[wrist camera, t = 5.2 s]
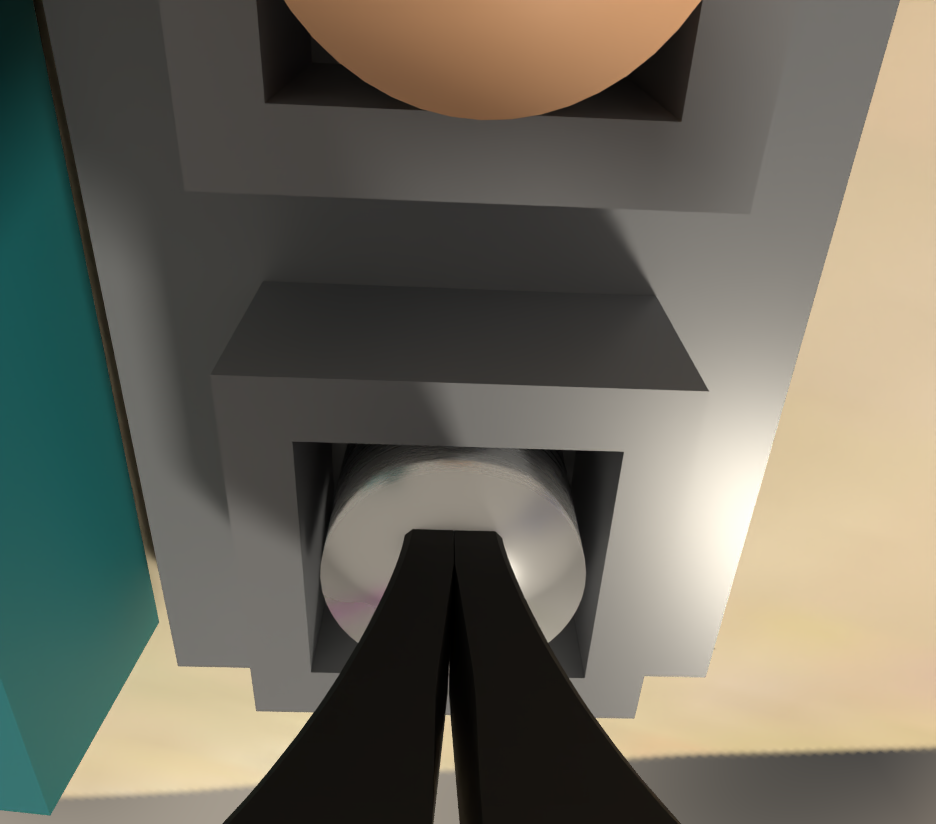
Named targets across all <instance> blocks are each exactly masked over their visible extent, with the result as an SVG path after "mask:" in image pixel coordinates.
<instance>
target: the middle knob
mask: <svg viewBox="0 0 936 824" xmlns="http://www.w3.org/2000/svg"><path fill="white" fill-rule="evenodd" d="M284 1H285V2H286V4H287V6H288V7H289V9H290V10H291V11H292V13H293V14H294V15H295V16H296V18H297V19H298V20H299V21H300V22H301V24H302V25H303V26H304V27H305V28H306V30H307V31H308V32H309V33H310V35H311V36H312V37H313V38H314V39H315V40H316V41H317V42H318V43H319V44H320V45H321V46H322V47H323V48H324V49H325V50H326V51H327V52H328V53H329V54H330V55H332V56H333V57H334V58H335V59H336V60H337V61H338V62H339V63H340V64H342V65H343V66H344V67H346V68H347V69H348V70H350V71H351V72H352V73H354V74H355V75H356V76H358V77H359V78H360V79H362V80H363V81H364V82H366V83H368V84H370V85H371V86H373V87H375V88H377V89H378V90H380V91H382V92H384V93H386V94H387V95H389V96H391V97H393V98H395V99H398V100H400V101H403V102H405V103H407V104H410V105H412V106H415V107H417V108H420V109H423V110H427V111H431V112H435V113H439V114H442V115H446V116H450V117H458V118H467V119H476V120H506V119H517V118H523V117H529V116H535V115H541V114H545V113H548V112H551V111H554V110H558V109H561V108H564V107H568V106H571V105H573V104H575V103H578V102H580V101H582V100H584V99H586V98H589V97H591V96H593V95H595V94H597V93H600V92H601V91H603V90H605V89H606V88H608V87H609V86H611V85H613V84H614V83H616V82H617V81H619V80H621V79H622V78H624V77H626V76H627V75H629V74H630V73H631V72H632V71H634V70H635V69H636V68H637V67H639V66H640V65H641V64H642V63H644V62H645V61H646V60H647V59H649V58H650V57H651V56H652V55H654V54H655V53H656V52H657V51H658V50H659V49H660V48H661V47H662V46H663V45H664V43H665V42H666V41H667V40H668V39H669V38H670V37H671V36H672V35H673V34H674V33H675V32H676V31H677V30H678V29H679V28H680V27H681V26H682V24H683V23H684V22H685V20H686V19H687V18H688V17H689V15H690V14H691V13H692V12H693V10H694V9H695V8H696V6H697V5H698V4H699V3H700V1H701V0H284Z"/></svg>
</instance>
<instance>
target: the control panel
mask: <svg viewBox="0 0 936 824" xmlns="http://www.w3.org/2000/svg"><path fill="white" fill-rule="evenodd" d="M899 1H900V0H701V1H700V3H699V4H698V5H697V6H696V8H695V9H694V10H693V12H692V13H691V14H690V15H689V17H688V18H687V19H686V20H685V22H684V23H683V24H682V26H681V27H680V28H679V29H678V30H677V31H676V32H675V33H674V34H673V35H672V36H671V37H670V38H669V39H668V40H667V41H666V42H665V43H664V45H663V46H662V47H661V48H660V49H659V50H658V51H657V52H656V53H655V54H654V55H652V56H651V57H650V58H649V59H647V60H646V61H645V62H644V63H642V64H641V65H640V66H639V67H637V68H636V69H635V70H634V71H632V72H631V73H630V74H629V75H627V76H626V77H624V78H622V79H621V80H619V81H617V82H616V83H614V84H613V85H611V86H609V87H608V88H606V89H605V90H603V91H601V92H600V93H597V94H595V95H593V96H591V97H589V98H586V99H584V100H582V101H580V102H578V103H575V104H573V105H571V106H568V107H564V108H561V109H558V110H554V111H551V112H548V113H545V114H541V115H535V116H529V117H523V118H517V119H506V120H476V119H467V118H458V117H450V116H446V115H442V114H439V113H435V112H431V111H427V110H423V109H420V108H417V107H415V106H412V105H410V104H407V103H405V102H403V101H400V100H398V99H395V98H393V97H391V96H389V95H387V94H386V93H384V92H382V91H380V90H378V89H377V88H375V87H373V86H371V85H370V84H368V83H366V82H364V81H363V80H362V79H360V78H359V77H358V76H356V75H355V74H354V73H352V72H351V71H350V70H348V69H347V68H346V67H344V66H343V65H342V64H340V63H339V62H338V61H337V60H336V59H335V58H334V57H333V56H332V55H330V54H329V53H328V52H327V51H326V50H325V49H324V48H323V47H322V46H321V45H320V44H319V43H318V42H317V41H316V40H315V39H314V38H313V37H312V36H311V35H310V33H309V32H308V31H307V30H306V28H305V27H304V26H303V25H302V24H301V22H300V21H299V20H298V19H297V18H296V16H295V15H294V14H293V13H292V11H291V10H290V9H289V7H288V6H287V4H286V2H285V1H284V0H42V2H43V7H44V12H45V17H46V22H47V27H48V32H49V37H50V41H51V46H52V51H53V56H54V61H55V66H56V71H57V76H58V81H59V86H60V90H61V95H62V100H63V105H64V110H65V115H66V120H67V125H68V130H69V134H70V139H71V144H72V149H73V154H74V159H75V164H76V169H77V174H78V179H79V183H80V188H81V193H82V198H83V203H84V208H85V213H86V218H87V223H88V228H89V232H90V237H91V242H92V247H93V252H94V257H95V262H96V267H97V272H98V276H99V281H100V286H101V291H102V296H103V301H104V306H105V311H106V316H107V321H108V325H109V330H110V335H111V340H112V345H113V350H114V355H115V360H116V365H117V370H118V374H119V379H120V384H121V389H122V394H123V399H124V404H125V409H126V414H127V419H128V423H129V428H130V433H131V438H132V443H133V448H134V453H135V458H136V463H137V467H138V472H139V477H140V482H141V487H142V492H143V497H144V502H145V507H146V512H147V516H148V521H149V526H150V531H151V536H152V541H153V546H154V551H155V556H156V561H157V565H158V570H159V575H160V580H161V585H162V590H163V595H164V600H165V605H166V609H167V614H168V619H169V624H170V629H171V634H172V639H173V644H174V649H175V654H176V658H177V663H178V666H192V667H239V668H250V669H251V677H252V684H253V691H254V698H255V706H256V711H273V712H315V710H316V709H317V707H318V706H319V704H320V703H321V701H322V700H323V699H324V697H325V696H326V694H327V693H328V691H329V690H330V688H331V686H332V685H333V683H334V682H335V680H336V679H337V677H338V676H339V674H340V672H341V671H342V669H343V667H344V666H345V664H346V662H347V661H348V659H349V657H350V656H351V654H352V652H353V650H354V649H355V647H356V645H357V644H358V643H357V642H356V641H355V640H354V639H352V638H351V637H350V636H349V635H348V634H347V633H346V632H345V631H344V630H343V629H342V628H341V627H340V625H339V624H338V622H337V621H336V620H335V618H334V617H333V615H332V614H331V612H330V610H329V608H328V606H327V604H326V601H325V598H324V595H323V592H322V586H321V580H320V569H321V561H322V556H323V551H324V546H325V541H326V537H327V532H328V528H329V523H330V518H331V514H332V509H333V505H334V500H335V495H336V491H337V486H338V482H339V477H340V472H341V468H342V463H343V459H344V454H345V449H346V445H347V443H358V444H391V445H424V446H456V447H489V448H521V449H554V450H562V451H563V456H564V461H565V465H566V470H567V475H568V480H569V485H570V490H571V495H572V499H573V504H574V509H575V514H576V519H577V524H578V529H579V533H580V538H581V543H582V548H583V553H584V558H585V566H586V580H585V588H584V592H583V596H582V599H581V601H580V603H579V606H578V608H577V610H576V612H575V613H574V615H573V617H572V618H571V620H570V621H569V623H568V624H567V625H566V626H565V627H564V629H563V630H562V631H561V632H560V633H559V634H558V635H557V636H556V637H555V638H553V639H552V640H551V641H550V642H549V643H548V644H549V645H550V647H551V649H552V651H553V652H554V654H555V656H556V658H557V659H558V661H559V663H560V664H561V666H562V668H563V669H564V671H565V672H566V674H567V676H568V677H569V679H570V681H571V682H572V684H573V685H574V687H575V689H576V690H577V692H578V693H579V695H580V696H581V698H582V699H583V701H584V702H585V704H586V705H587V707H588V708H589V710H590V711H591V713H592V714H593V716H594V717H595V718H635V714H636V709H637V705H638V701H639V696H640V692H641V688H642V683H643V679H644V676H663V677H706V674H707V671H708V667H709V664H710V660H711V657H712V653H713V650H714V646H715V643H716V639H717V636H718V632H719V629H720V625H721V622H722V618H723V615H724V611H725V608H726V604H727V601H728V597H729V594H730V590H731V587H732V583H733V580H734V577H735V573H736V570H737V566H738V563H739V559H740V556H741V552H742V549H743V545H744V542H745V538H746V535H747V531H748V528H749V524H750V521H751V517H752V514H753V510H754V507H755V503H756V500H757V496H758V493H759V489H760V486H761V482H762V479H763V475H764V472H765V468H766V465H767V461H768V458H769V455H770V451H771V448H772V444H773V441H774V437H775V434H776V430H777V427H778V423H779V420H780V416H781V413H782V409H783V406H784V402H785V399H786V395H787V392H788V388H789V385H790V381H791V378H792V374H793V371H794V367H795V364H796V360H797V357H798V353H799V350H800V346H801V343H802V340H803V336H804V333H805V329H806V326H807V322H808V319H809V315H810V312H811V308H812V305H813V301H814V298H815V294H816V291H817V287H818V284H819V280H820V277H821V273H822V270H823V266H824V263H825V259H826V256H827V252H828V249H829V245H830V242H831V238H832V235H833V231H834V228H835V225H836V221H837V218H838V214H839V211H840V207H841V204H842V200H843V197H844V193H845V190H846V186H847V183H848V179H849V176H850V172H851V169H852V165H853V162H854V158H855V155H856V151H857V148H858V144H859V141H860V137H861V134H862V130H863V127H864V123H865V120H866V116H867V113H868V110H869V106H870V103H871V99H872V96H873V92H874V89H875V85H876V82H877V78H878V75H879V71H880V68H881V64H882V61H883V57H884V54H885V50H886V47H887V43H888V40H889V36H890V33H891V29H892V26H893V22H894V19H895V15H896V12H897V8H898V5H899ZM445 715H451V714H450V702H449V678H448V696H447V705H446V714H445Z"/></svg>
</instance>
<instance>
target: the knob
mask: <svg viewBox="0 0 936 824" xmlns="http://www.w3.org/2000/svg"><path fill="white" fill-rule="evenodd" d="M412 529H430V530H453V540H454V530H467V531H496V532H497V533H498V534H499V535H500V536H501V537H502V539H503V543H504V547H505V550H506V553H507V556H508V559H509V562H510V564H511V567H512V569H513V572H514V574H515V577H516V579H517V581H518V584H519V586H520V588H521V590H522V593H523V595H524V597H525V599H526V601H527V603H528V605H529V607H530V609H531V611H532V613H533V615H534V617H535V619H536V621H537V623H538V625H539V627H540V628H541V630H542V632H543V634H544V636H545V638H546V640H547V642H548V643H549V642H550V641H551V640H552V639H553V638H555V637H556V636H557V635H558V634H559V633H560V632H561V631H562V630H563V629H564V627H565V626H566V625H567V624H568V623H569V621H570V620H571V618H572V617H573V615H574V613H575V612H576V610H577V608H578V606H579V603H580V601H581V599H582V596H583V592H584V588H585V580H586V566H585V558H584V553H583V548H582V543H581V538H580V533H579V529H578V524H577V519H576V514H575V509H574V504H573V499H572V495H571V490H570V485H569V480H568V475H567V470H566V465H565V461H564V456H563V451H562V450H554V449H521V448H489V447H456V446H424V445H391V444H358V443H347V445H346V449H345V454H344V459H343V463H342V468H341V472H340V477H339V482H338V486H337V491H336V495H335V500H334V505H333V509H332V514H331V518H330V523H329V528H328V532H327V537H326V541H325V546H324V551H323V556H322V561H321V569H320V580H321V586H322V592H323V595H324V598H325V601H326V604H327V606H328V608H329V610H330V612H331V614H332V615H333V617H334V618H335V620H336V621H337V622H338V624H339V625H340V627H341V628H342V629H343V630H344V631H345V632H346V633H347V634H348V635H349V636H350V637H351V638H352V639H354V640H355V641H356V642H357V643H358V642H359V640H360V639H361V637H362V635H363V633H364V632H365V630H366V628H367V626H368V624H369V622H370V620H371V618H372V616H373V614H374V612H375V610H376V608H377V606H378V604H379V602H380V600H381V598H382V596H383V594H384V592H385V590H386V587H387V585H388V583H389V581H390V578H391V576H392V574H393V571H394V569H395V566H396V563H397V561H398V558H399V555H400V552H401V549H402V545H403V541H404V536H405V534H407V533H408V532H409V531H411V530H412Z"/></svg>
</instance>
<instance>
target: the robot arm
mask: <svg viewBox="0 0 936 824" xmlns="http://www.w3.org/2000/svg"><path fill="white" fill-rule="evenodd" d="M448 678H449V702H450V714H451V726H452V738H453V750H454V762H455V773H456V785H457V797H458V809H459V820H460V824H681V823H680V822H679V821H678V820H677V819H676V818H675V816H674V815H673V814H672V813H671V812H670V811H669V810H668V808H667V807H666V806H665V805H664V804H663V803H662V802H661V801H660V799H659V798H658V797H657V796H656V795H655V794H654V792H652V790H651V789H650V788H649V787H648V786H647V785H646V783H645V782H644V781H643V780H642V779H641V778H640V776H639V775H638V774H637V773H636V771H635V770H634V769H633V768H632V766H631V765H630V764H629V762H628V761H627V760H626V759H625V757H624V756H623V755H622V753H621V752H620V751H619V750H618V748H617V747H616V746H615V744H614V743H613V742H612V740H611V739H610V738H609V736H608V735H607V734H606V732H605V731H604V729H603V728H602V727H601V725H600V724H599V723H598V721H597V720H596V718H595V717H594V716H593V714H592V713H591V711H590V710H589V708H588V707H587V705H586V704H585V702H584V701H583V699H582V698H581V696H580V695H579V693H578V692H577V690H576V689H575V687H574V685H573V684H572V682H571V681H570V679H569V677H568V676H567V674H566V672H565V671H564V669H563V668H562V666H561V664H560V663H559V661H558V659H557V658H556V656H555V654H554V652H553V651H552V649H551V647H550V645H549V644H548V642H547V640H546V638H545V636H544V634H543V632H542V630H541V628H540V627H539V625H538V623H537V621H536V619H535V617H534V615H533V613H532V611H531V609H530V607H529V605H528V603H527V601H526V599H525V597H524V595H523V593H522V590H521V588H520V586H519V584H518V581H517V579H516V577H515V574H514V572H513V569H512V567H511V564H510V562H509V559H508V556H507V553H506V550H505V547H504V543H503V539H502V537H501V536H500V535H499V534H498V533H497V532H496V531H467V530H454V540H453V530H430V529H412V530H411V531H409V532H408V533H407V534H405V536H404V541H403V545H402V549H401V552H400V555H399V558H398V561H397V563H396V566H395V569H394V571H393V574H392V576H391V578H390V581H389V583H388V585H387V587H386V590H385V592H384V594H383V596H382V598H381V600H380V602H379V604H378V606H377V608H376V610H375V612H374V614H373V616H372V618H371V620H370V622H369V624H368V626H367V628H366V630H365V632H364V633H363V635H362V637H361V639H360V640H359V642H358V644H357V645H356V647H355V649H354V650H353V652H352V654H351V656H350V657H349V659H348V661H347V662H346V664H345V666H344V667H343V669H342V671H341V672H340V674H339V676H338V677H337V679H336V680H335V682H334V683H333V685H332V686H331V688H330V690H329V691H328V693H327V694H326V696H325V697H324V699H323V700H322V701H321V703H320V704H319V706H318V707H317V709H316V710H315V712H314V713H313V714H312V716H311V717H310V718H309V720H308V721H307V723H306V724H305V725H304V727H303V728H302V730H301V731H300V732H299V734H298V735H297V736H296V738H295V739H294V740H293V741H292V743H291V744H290V745H289V746H288V748H287V749H286V750H285V752H284V753H283V754H282V755H281V757H280V758H279V759H278V760H277V762H276V763H275V764H274V765H273V767H272V768H271V769H270V771H269V772H268V773H267V774H266V775H265V777H264V778H263V779H262V780H261V781H260V783H259V784H258V785H257V786H256V787H255V788H254V790H253V791H252V792H251V793H250V794H249V795H248V797H247V798H246V799H245V800H244V801H243V802H242V803H241V804H240V805H239V807H237V809H236V810H235V811H234V812H233V813H232V814H231V815H230V816H229V817H228V818H227V819H226V820H225V822H224V823H223V824H433V822H434V813H435V804H436V795H437V786H438V777H439V768H440V759H441V750H442V741H443V732H444V723H445V714H446V705H447V696H448Z"/></svg>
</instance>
